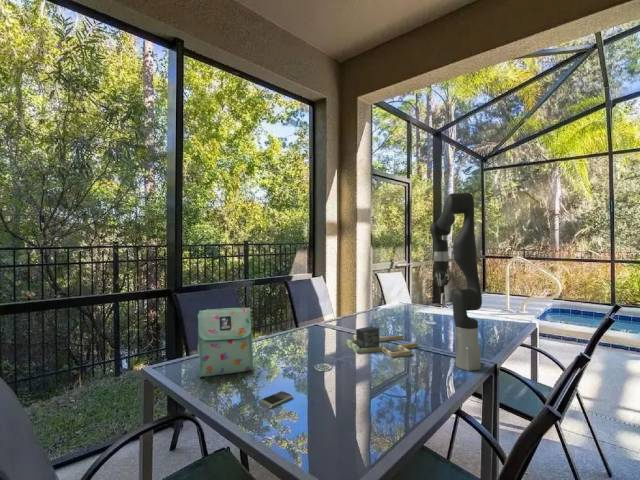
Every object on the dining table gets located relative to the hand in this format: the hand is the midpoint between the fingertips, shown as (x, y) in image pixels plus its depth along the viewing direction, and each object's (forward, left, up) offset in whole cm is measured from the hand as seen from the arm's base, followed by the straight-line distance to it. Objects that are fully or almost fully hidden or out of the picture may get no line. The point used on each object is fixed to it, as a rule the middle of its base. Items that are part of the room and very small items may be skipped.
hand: (441, 293), depth 181 cm
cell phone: (-40, +93, -28) cm, 105 cm away
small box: (+5, +40, -27) cm, 49 cm away
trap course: (+8, +32, -27) cm, 43 cm away
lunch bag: (-4, +110, -27) cm, 113 cm away
